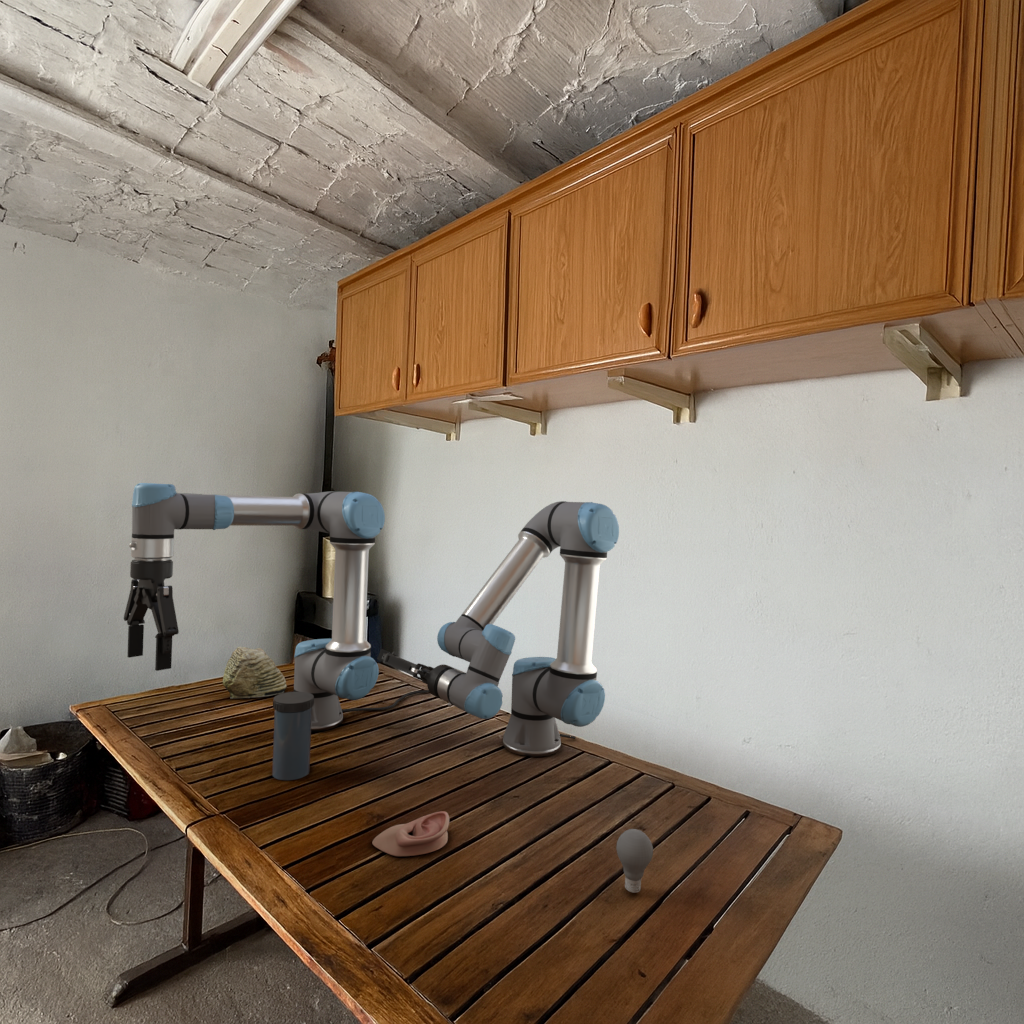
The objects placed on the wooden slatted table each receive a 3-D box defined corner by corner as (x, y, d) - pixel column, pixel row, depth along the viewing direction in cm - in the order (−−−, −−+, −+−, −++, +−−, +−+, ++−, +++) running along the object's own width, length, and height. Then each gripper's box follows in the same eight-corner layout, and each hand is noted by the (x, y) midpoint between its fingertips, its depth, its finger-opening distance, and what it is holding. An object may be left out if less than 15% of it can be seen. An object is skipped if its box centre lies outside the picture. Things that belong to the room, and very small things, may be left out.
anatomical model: (365, 829, 114) (390, 800, 125) (364, 851, 114) (389, 820, 125) (436, 840, 111) (455, 810, 122) (435, 863, 111) (454, 830, 122)
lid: (286, 715, 138) (287, 706, 138) (265, 705, 144) (265, 697, 144) (321, 706, 145) (321, 697, 145) (299, 697, 151) (300, 689, 150)
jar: (284, 783, 139) (287, 707, 139) (265, 772, 144) (267, 699, 144) (316, 772, 145) (319, 699, 145) (296, 762, 150) (299, 691, 150)
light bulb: (610, 879, 108) (613, 822, 108) (644, 879, 109) (647, 822, 109) (619, 902, 102) (622, 840, 102) (655, 901, 103) (658, 840, 103)
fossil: (218, 695, 195) (220, 647, 195) (278, 685, 208) (279, 640, 207) (228, 703, 189) (230, 653, 188) (289, 692, 201) (290, 645, 201)
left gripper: (108, 554, 134) (104, 654, 134) (159, 565, 118) (155, 678, 119) (146, 552, 140) (143, 648, 140) (199, 563, 124) (195, 671, 124)
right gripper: (400, 685, 137) (355, 662, 153) (481, 713, 152) (431, 689, 168) (414, 652, 139) (368, 632, 155) (492, 683, 154) (442, 662, 170)
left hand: (148, 662), depth 129 cm, fingers open, 13 cm apart
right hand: (401, 662), depth 161 cm, fingers open, 13 cm apart
